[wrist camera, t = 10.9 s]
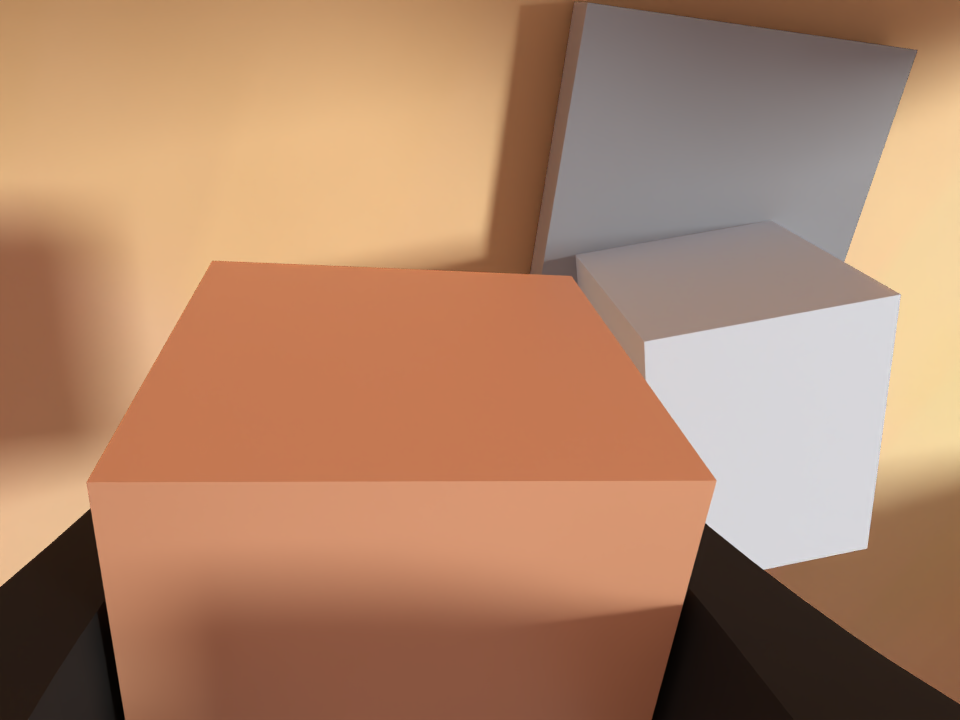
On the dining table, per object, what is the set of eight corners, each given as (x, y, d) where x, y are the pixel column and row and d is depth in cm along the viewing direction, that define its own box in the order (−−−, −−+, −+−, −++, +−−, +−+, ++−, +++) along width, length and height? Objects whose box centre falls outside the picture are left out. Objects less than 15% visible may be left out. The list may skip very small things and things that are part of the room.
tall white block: (770, 220, 16) (900, 294, 12) (761, 430, 19) (867, 548, 15) (575, 254, 16) (644, 341, 12) (591, 463, 19) (653, 592, 15)
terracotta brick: (571, 276, 10) (716, 480, 6) (522, 602, 12) (599, 910, 8) (212, 260, 9) (85, 482, 5) (235, 611, 11) (163, 951, 7)
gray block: (887, 46, 16) (917, 50, 15) (717, 558, 22) (732, 582, 21) (574, 1, 15) (587, 2, 14) (483, 556, 21) (489, 581, 20)
